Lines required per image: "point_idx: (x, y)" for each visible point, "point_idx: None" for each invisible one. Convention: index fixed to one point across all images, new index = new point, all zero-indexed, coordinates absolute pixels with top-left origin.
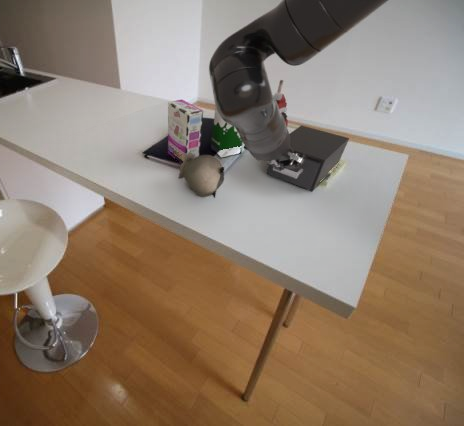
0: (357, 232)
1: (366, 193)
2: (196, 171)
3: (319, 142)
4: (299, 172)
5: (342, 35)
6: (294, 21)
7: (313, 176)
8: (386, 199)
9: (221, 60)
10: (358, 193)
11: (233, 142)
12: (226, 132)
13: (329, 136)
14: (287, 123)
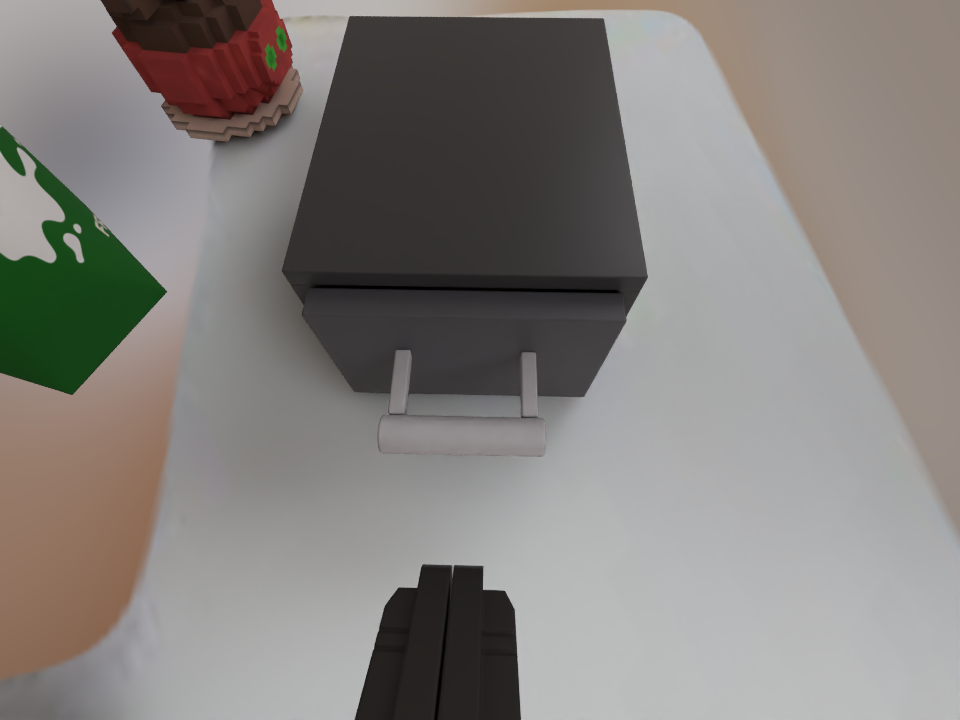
0: (902, 560)
1: (742, 259)
2: None
3: (511, 116)
4: (536, 400)
5: None
6: None
7: (599, 363)
8: (809, 254)
9: None
10: (723, 277)
11: (43, 304)
12: None
13: (521, 44)
14: (277, 14)
